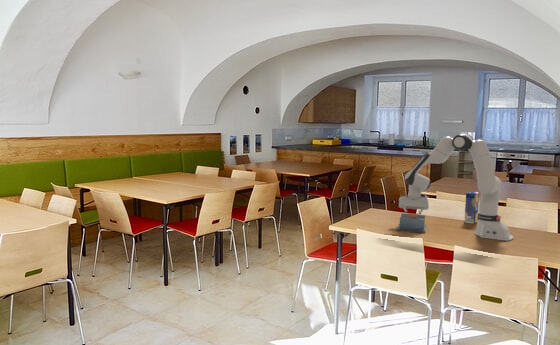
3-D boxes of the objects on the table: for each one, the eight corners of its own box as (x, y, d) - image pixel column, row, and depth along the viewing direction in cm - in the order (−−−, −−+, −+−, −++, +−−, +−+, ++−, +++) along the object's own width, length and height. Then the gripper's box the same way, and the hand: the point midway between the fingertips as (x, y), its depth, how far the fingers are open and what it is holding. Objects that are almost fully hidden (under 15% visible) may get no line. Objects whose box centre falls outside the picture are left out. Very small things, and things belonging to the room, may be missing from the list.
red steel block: (416, 226, 299) (417, 213, 298) (416, 227, 295) (417, 214, 294) (407, 225, 301) (408, 212, 300) (407, 226, 297) (408, 214, 296)
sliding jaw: (424, 224, 303) (425, 215, 302) (424, 225, 301) (424, 215, 300) (401, 222, 309) (401, 213, 308) (400, 223, 306) (401, 213, 306)
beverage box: (477, 221, 325) (479, 192, 322) (474, 223, 316) (476, 194, 314) (467, 219, 329) (469, 191, 326) (464, 222, 320) (466, 193, 318)
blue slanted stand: (425, 226, 305) (426, 214, 304) (425, 233, 286) (425, 220, 285) (399, 224, 311) (400, 212, 310) (397, 230, 292) (397, 218, 291)
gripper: (399, 193, 309) (397, 209, 301) (429, 195, 302) (428, 211, 294) (399, 198, 314) (397, 214, 306) (428, 200, 307) (428, 216, 299)
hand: (412, 213), depth 300 cm, fingers open, 8 cm apart
